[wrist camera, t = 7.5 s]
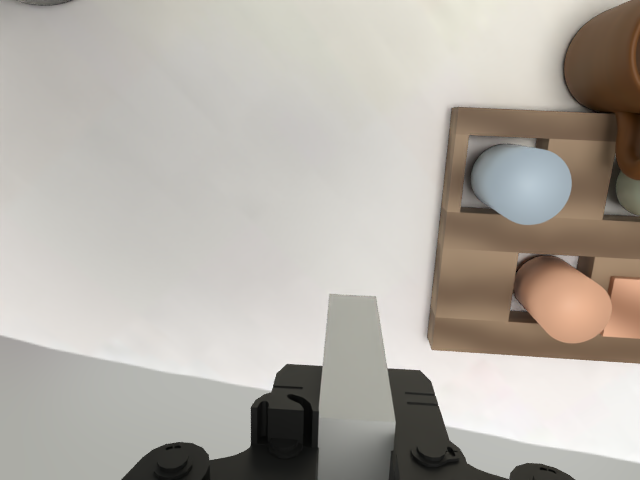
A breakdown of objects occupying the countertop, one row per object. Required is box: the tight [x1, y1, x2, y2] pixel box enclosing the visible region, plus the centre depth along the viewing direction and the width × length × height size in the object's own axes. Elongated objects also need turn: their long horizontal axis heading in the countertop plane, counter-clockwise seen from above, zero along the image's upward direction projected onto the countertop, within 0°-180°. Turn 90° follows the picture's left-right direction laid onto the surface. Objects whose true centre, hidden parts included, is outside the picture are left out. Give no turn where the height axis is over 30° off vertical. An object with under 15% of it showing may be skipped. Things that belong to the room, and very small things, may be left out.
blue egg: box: [471, 144, 572, 225], centre depth 35 cm, size 5×5×6 cm
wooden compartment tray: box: [427, 107, 640, 364], centre depth 39 cm, size 20×20×3 cm
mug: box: [564, 0, 640, 180], centre depth 33 cm, size 12×8×9 cm, turn 176°
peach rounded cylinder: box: [513, 256, 612, 343], centre depth 38 cm, size 5×5×6 cm
